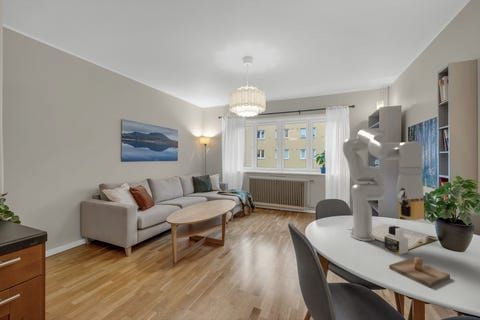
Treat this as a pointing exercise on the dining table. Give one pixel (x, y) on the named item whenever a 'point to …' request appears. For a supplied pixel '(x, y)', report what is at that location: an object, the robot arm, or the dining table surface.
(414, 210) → the plain orange cube
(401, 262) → the walnut board
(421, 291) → the dining table surface
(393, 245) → the medicine bottle
